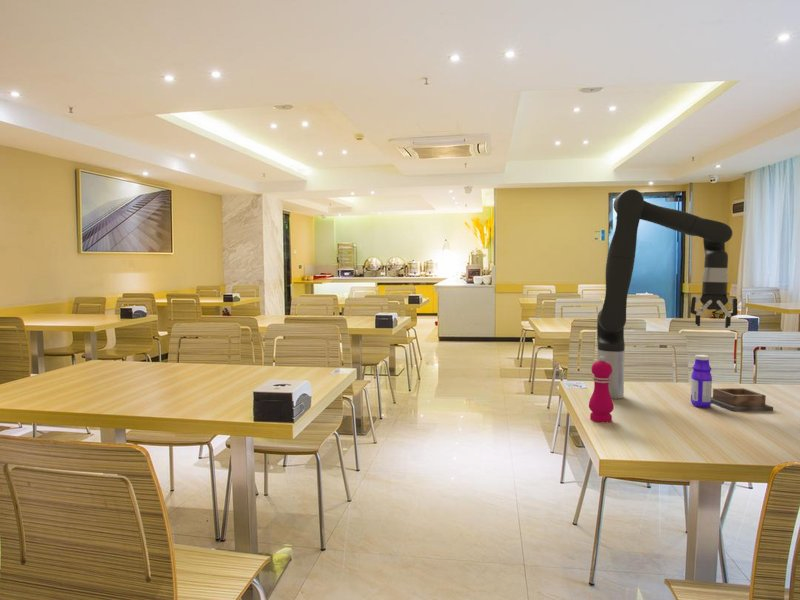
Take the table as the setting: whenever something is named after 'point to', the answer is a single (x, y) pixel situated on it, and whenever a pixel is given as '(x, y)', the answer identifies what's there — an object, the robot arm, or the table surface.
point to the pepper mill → (601, 392)
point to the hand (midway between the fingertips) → (712, 326)
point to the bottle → (701, 382)
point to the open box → (739, 400)
